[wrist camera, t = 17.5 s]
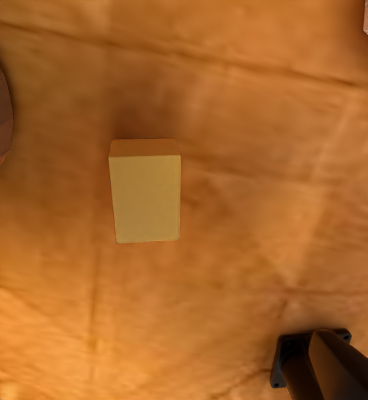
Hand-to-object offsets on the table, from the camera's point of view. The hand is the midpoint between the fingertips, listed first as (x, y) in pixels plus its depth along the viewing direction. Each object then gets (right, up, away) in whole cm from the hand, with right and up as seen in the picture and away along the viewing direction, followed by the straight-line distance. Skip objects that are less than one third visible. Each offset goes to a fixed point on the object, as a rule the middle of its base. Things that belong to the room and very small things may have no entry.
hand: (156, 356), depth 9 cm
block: (-2, +6, +11) cm, 12 cm away
